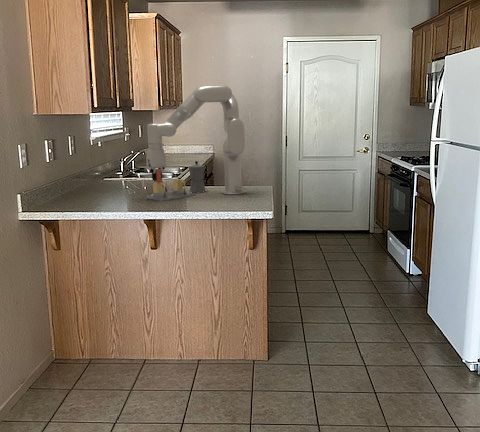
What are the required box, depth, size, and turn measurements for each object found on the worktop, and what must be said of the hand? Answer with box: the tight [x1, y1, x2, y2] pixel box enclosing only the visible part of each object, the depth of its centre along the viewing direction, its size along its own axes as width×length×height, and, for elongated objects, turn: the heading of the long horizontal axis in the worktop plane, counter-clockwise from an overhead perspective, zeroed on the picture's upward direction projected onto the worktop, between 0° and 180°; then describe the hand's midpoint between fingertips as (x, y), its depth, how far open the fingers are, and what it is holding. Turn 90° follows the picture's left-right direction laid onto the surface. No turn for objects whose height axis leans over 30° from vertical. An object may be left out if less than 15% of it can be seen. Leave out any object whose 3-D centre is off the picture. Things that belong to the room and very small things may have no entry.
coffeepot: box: [188, 161, 206, 194], centre depth 321 cm, size 15×9×18 cm, turn 176°
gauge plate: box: [145, 178, 197, 202], centre depth 305 cm, size 14×24×9 cm, turn 135°
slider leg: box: [152, 168, 166, 196], centre depth 299 cm, size 8×4×14 cm, turn 45°
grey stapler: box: [161, 178, 171, 192], centre depth 321 cm, size 17×5×10 cm, turn 20°
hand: (157, 179), depth 300 cm, fingers closed on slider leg, 3 cm apart
